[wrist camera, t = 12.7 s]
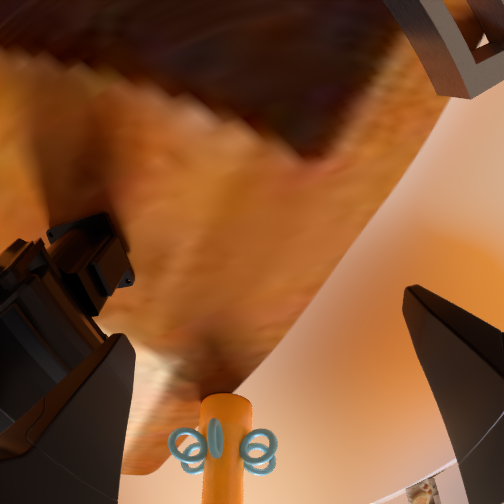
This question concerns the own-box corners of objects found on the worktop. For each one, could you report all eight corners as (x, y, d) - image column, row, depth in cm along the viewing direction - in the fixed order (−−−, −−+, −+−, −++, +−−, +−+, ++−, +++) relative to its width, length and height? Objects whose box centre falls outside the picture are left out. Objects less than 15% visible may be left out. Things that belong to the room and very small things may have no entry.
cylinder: (166, 410, 33) (148, 517, 20) (190, 366, 29) (169, 506, 16) (254, 432, 36) (255, 531, 23) (294, 395, 32) (308, 518, 18)
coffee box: (427, 478, 63) (438, 516, 49) (434, 477, 65) (444, 513, 51) (404, 489, 67) (413, 526, 53) (412, 488, 69) (421, 524, 55)
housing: (437, 95, 16) (470, 99, 13) (364, -24, 12) (387, -43, 9) (507, 57, 14) (539, 59, 10) (450, -45, 10) (477, -57, 6)
